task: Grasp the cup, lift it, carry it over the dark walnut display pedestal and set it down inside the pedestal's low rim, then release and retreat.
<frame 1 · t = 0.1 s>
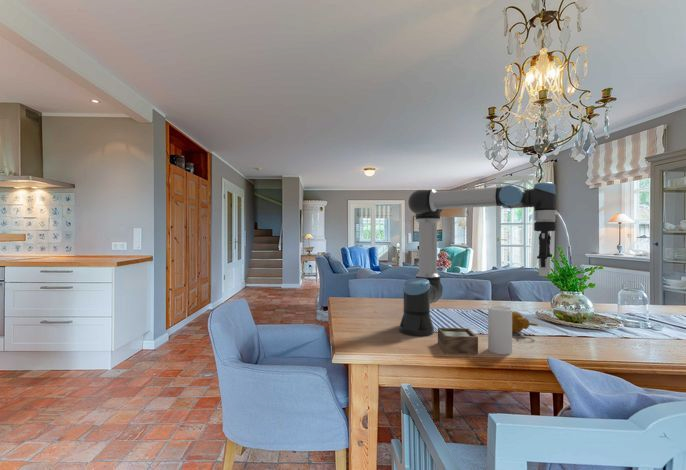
hand: (544, 274, 136), 28 cm above the table, fingers open, 13 cm apart
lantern: (511, 331, 154), on the table
cup: (499, 351, 128), on the table
pedestal: (456, 348, 130), on the table
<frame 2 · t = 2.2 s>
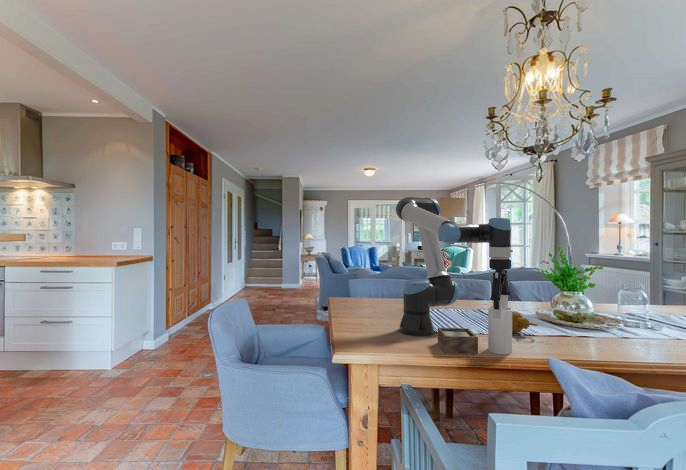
hand: (500, 314, 128), 13 cm above the table, fingers open, 13 cm apart
nothing on the table moved.
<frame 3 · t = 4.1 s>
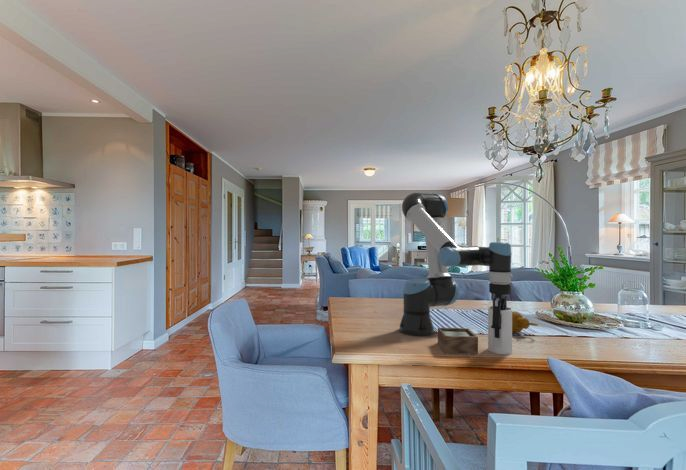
hand: (499, 343, 128), 3 cm above the table, fingers closed on cup, 8 cm apart
cup: (499, 351, 128), on the table, touching gripper
everything else where it was.
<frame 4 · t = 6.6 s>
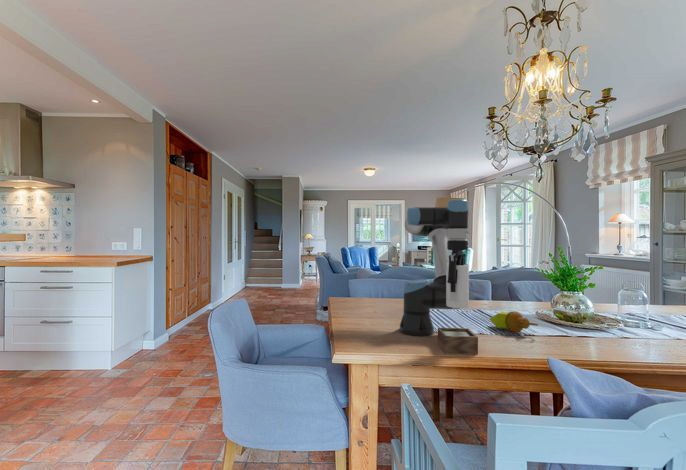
hand: (457, 298, 131), 19 cm above the table, fingers closed on cup, 8 cm apart
cup: (457, 306, 131), point 16 cm above the table, touching gripper
everything else where it was.
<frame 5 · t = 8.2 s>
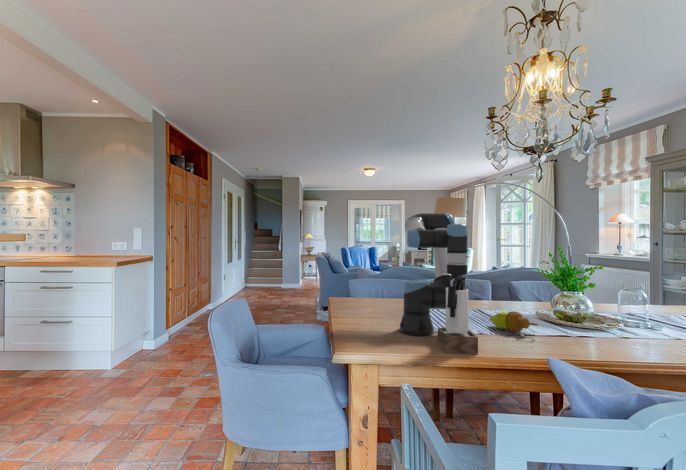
hand: (456, 323, 130), 10 cm above the table, fingers closed on cup, 8 cm apart
cup: (457, 330, 130), point 7 cm above the table, touching gripper
everything else where it was.
when the fingers open (9 cm above the table, at t = 9.2 s): cup drops 1 cm, resting on pedestal.
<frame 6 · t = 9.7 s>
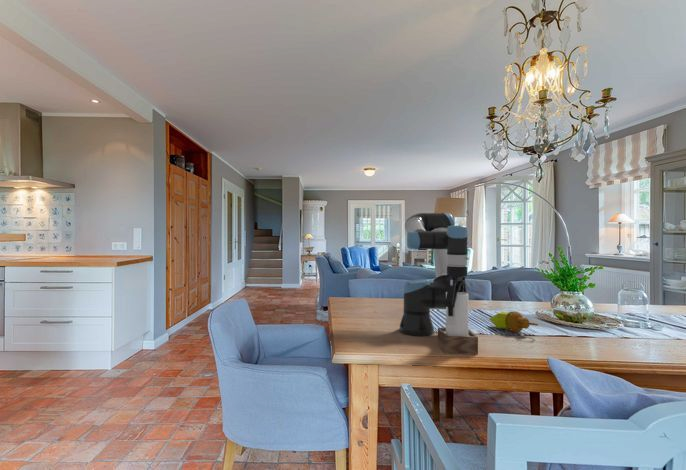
hand: (456, 321, 131), 10 cm above the table, fingers open, 13 cm apart
cup: (456, 335, 131), point 5 cm above the table, touching pedestal
everything else where it was.
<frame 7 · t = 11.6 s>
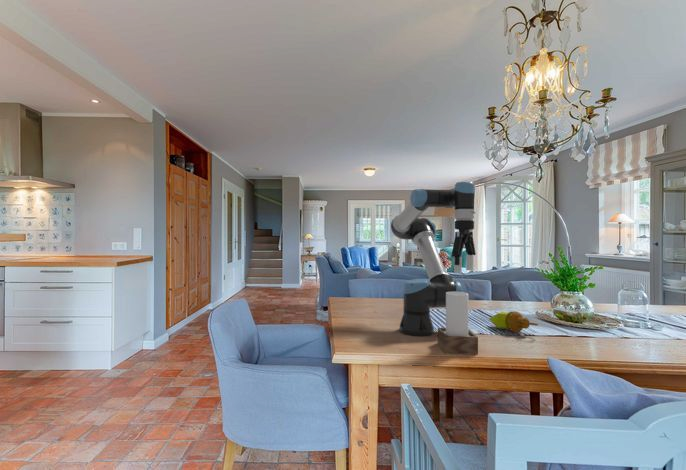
hand: (463, 271, 139), 29 cm above the table, fingers open, 13 cm apart
nothing on the table moved.
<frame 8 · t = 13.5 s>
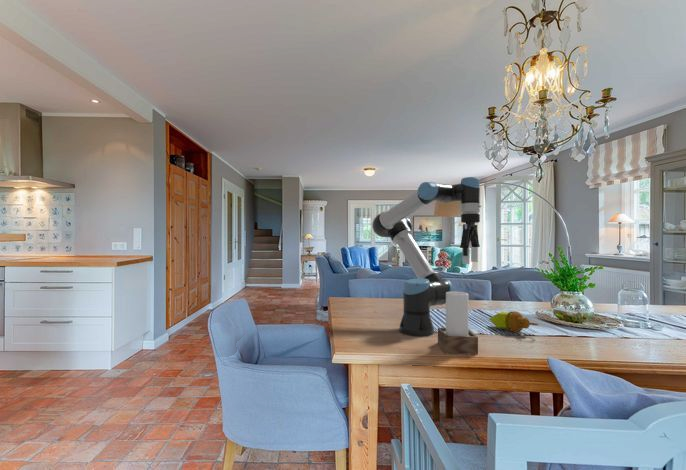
hand: (470, 262, 146), 32 cm above the table, fingers open, 13 cm apart
nothing on the table moved.
at the end: cup inside the target area on the pedestal (0.0 cm from its centre), point 5.0 cm above the pedestal's base; cup tilted 0°; the gripper is holding nothing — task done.
